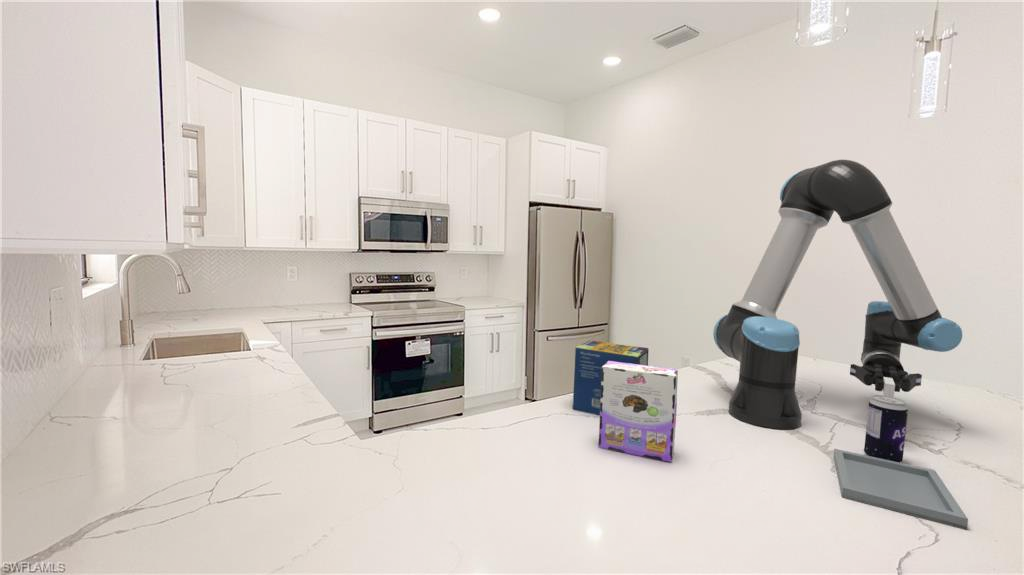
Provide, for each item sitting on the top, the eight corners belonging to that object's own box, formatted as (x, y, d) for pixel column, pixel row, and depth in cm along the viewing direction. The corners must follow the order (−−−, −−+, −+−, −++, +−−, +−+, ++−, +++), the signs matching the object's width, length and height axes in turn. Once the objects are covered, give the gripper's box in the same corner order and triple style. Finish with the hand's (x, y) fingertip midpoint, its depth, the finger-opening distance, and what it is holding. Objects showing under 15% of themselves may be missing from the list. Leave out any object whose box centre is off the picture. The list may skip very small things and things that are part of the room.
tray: (842, 497, 71) (842, 487, 71) (833, 456, 85) (834, 448, 85) (966, 529, 63) (968, 519, 63) (933, 478, 78) (934, 470, 78)
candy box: (674, 451, 86) (679, 368, 84) (671, 464, 80) (677, 375, 79) (604, 436, 91) (607, 358, 90) (597, 447, 86) (601, 365, 85)
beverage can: (893, 469, 81) (900, 406, 80) (857, 456, 86) (863, 396, 85) (907, 463, 83) (914, 401, 82) (872, 451, 88) (878, 392, 87)
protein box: (586, 398, 116) (589, 339, 115) (646, 410, 108) (649, 347, 107) (571, 409, 107) (574, 346, 106) (634, 423, 99) (638, 356, 98)
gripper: (916, 388, 104) (931, 416, 85) (847, 378, 112) (847, 401, 93) (920, 357, 104) (935, 378, 85) (850, 349, 111) (850, 366, 93)
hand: (889, 390), depth 89 cm, fingers closed
